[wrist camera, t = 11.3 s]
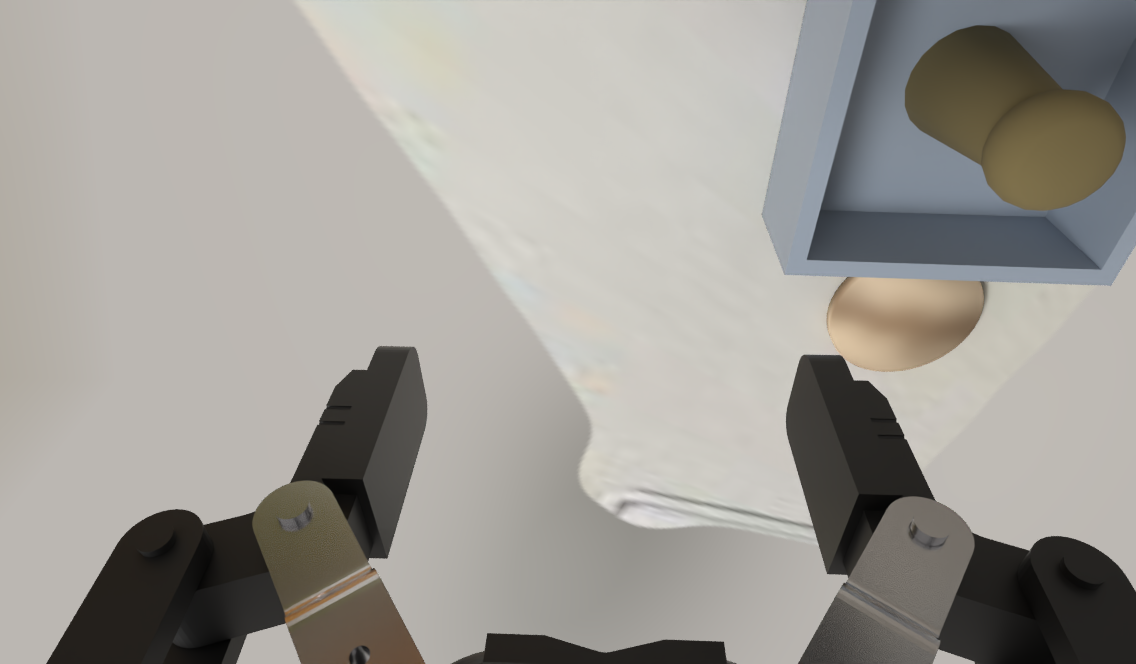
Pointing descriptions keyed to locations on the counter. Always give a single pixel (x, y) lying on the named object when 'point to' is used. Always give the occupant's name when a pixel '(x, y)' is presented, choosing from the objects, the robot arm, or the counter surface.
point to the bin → (939, 149)
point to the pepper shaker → (1014, 119)
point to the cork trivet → (901, 320)
